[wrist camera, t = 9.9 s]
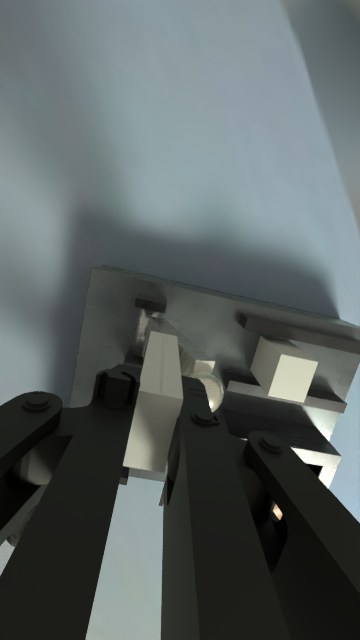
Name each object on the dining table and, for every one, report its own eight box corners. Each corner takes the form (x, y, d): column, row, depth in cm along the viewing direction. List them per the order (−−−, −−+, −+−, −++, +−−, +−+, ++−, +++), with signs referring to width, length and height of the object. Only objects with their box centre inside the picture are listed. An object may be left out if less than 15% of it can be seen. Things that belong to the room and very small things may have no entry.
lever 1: (98, 457, 22) (-8, 550, 14) (104, 425, 21) (-3, 504, 14) (119, 469, 21) (21, 573, 14) (126, 436, 21) (27, 526, 13)
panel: (74, 438, 27) (40, 507, 20) (104, 265, 23) (75, 271, 16) (283, 474, 29) (322, 549, 22) (340, 319, 25) (410, 346, 18)
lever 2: (134, 355, 19) (183, 433, 12) (142, 315, 19) (199, 373, 11) (161, 356, 20) (223, 431, 13) (170, 318, 20) (239, 374, 12)
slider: (249, 370, 22) (267, 395, 18) (260, 335, 21) (281, 354, 17) (279, 376, 22) (303, 402, 18) (290, 342, 21) (318, 362, 17)
